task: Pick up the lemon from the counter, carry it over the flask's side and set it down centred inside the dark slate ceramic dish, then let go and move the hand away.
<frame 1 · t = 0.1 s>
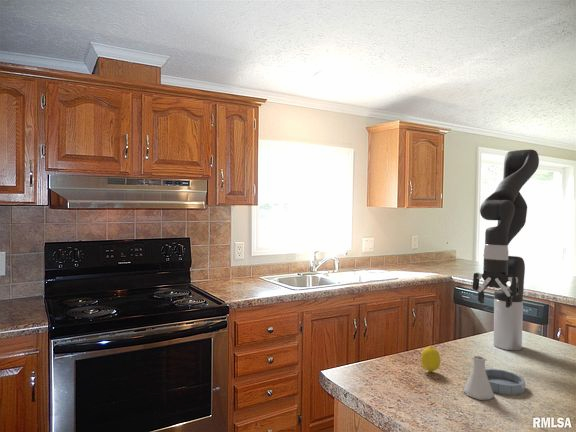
hand: (494, 305, 140), 17 cm above the counter, tool pointing down, fingers open, 8 cm apart
dish: (500, 385, 115), on the counter
flask: (478, 395, 109), on the counter
lemon: (430, 373, 124), on the counter
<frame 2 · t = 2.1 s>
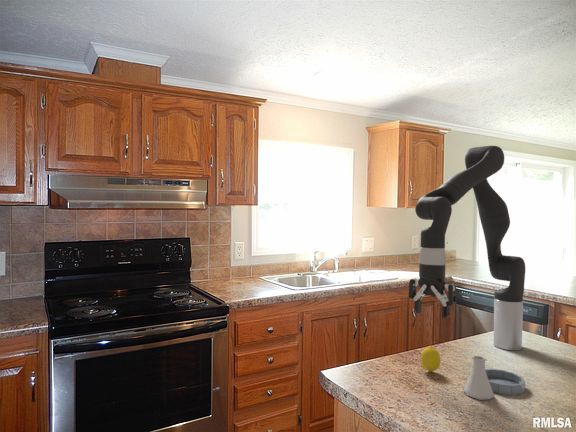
hand: (431, 315, 124), 17 cm above the counter, tool pointing down, fingers open, 8 cm apart
nothing on the counter moved.
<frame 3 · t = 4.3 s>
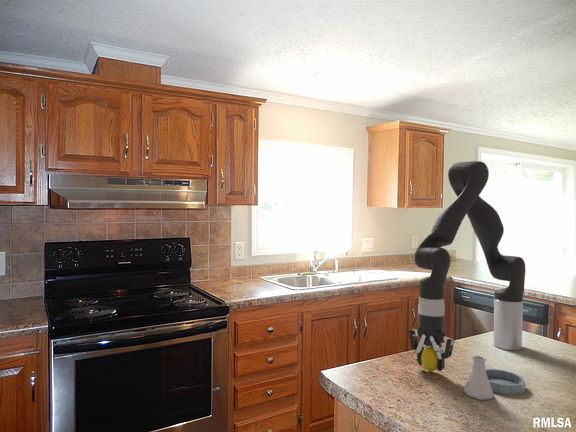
hand: (430, 367, 124), 2 cm above the counter, tool pointing down, fingers closed on lemon, 5 cm apart
lemon: (430, 372, 124), on the counter, touching gripper
everything else where it was.
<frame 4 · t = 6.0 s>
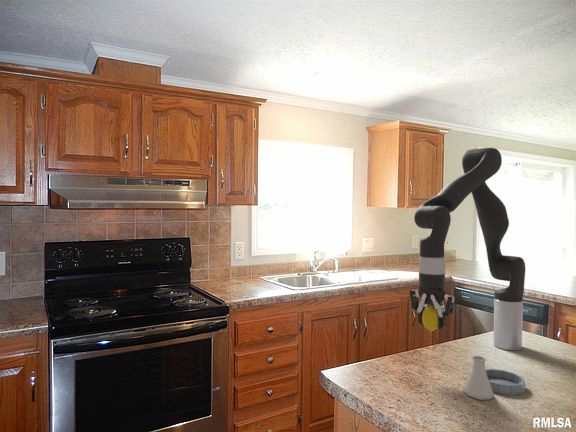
hand: (431, 326, 124), 14 cm above the counter, tool pointing down, fingers closed on lemon, 5 cm apart
lemon: (431, 332, 124), point 12 cm above the counter, touching gripper
everything else where it was.
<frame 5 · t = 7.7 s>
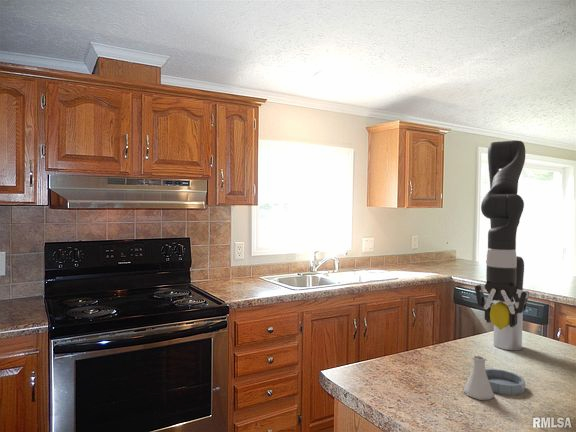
hand: (500, 324, 115), 17 cm above the counter, tool pointing down, fingers closed on lemon, 5 cm apart
lemon: (500, 330, 115), point 16 cm above the counter, touching gripper
everything else where it was.
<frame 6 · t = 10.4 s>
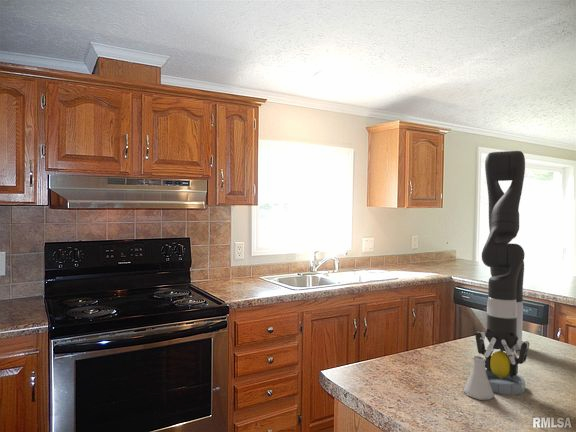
hand: (500, 373, 115), 4 cm above the counter, tool pointing down, fingers closed on lemon, 5 cm apart
lemon: (500, 379, 115), point 2 cm above the counter, touching gripper
everything else where it was.
when the fingers open (3 cm above the counter, at t = 11.3 s): lemon drops 1 cm, resting on dish.
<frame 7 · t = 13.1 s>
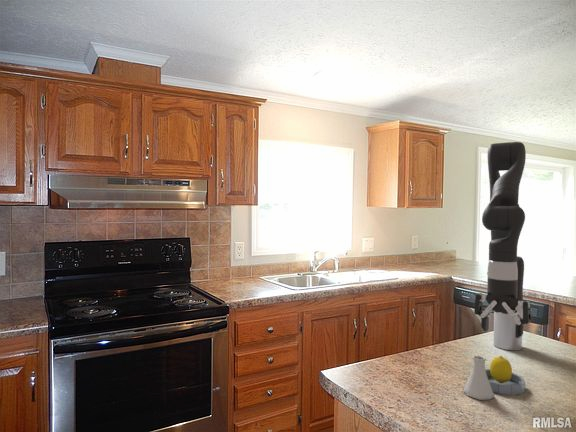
hand: (501, 333, 115), 15 cm above the counter, tool pointing down, fingers open, 8 cm apart
lemon: (500, 384, 115), resting on dish
everything else where it was.
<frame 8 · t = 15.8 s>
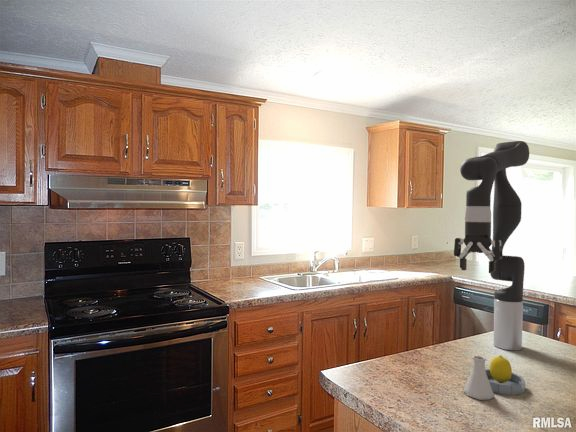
hand: (477, 271, 130), 30 cm above the counter, tool pointing down, fingers open, 8 cm apart
nothing on the counter moved.
at the end: lemon 0.0 cm off-centre on the dish, point 0.2 cm above the dish's base; the gripper is holding nothing; flask moved 0.3 cm from its start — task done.
